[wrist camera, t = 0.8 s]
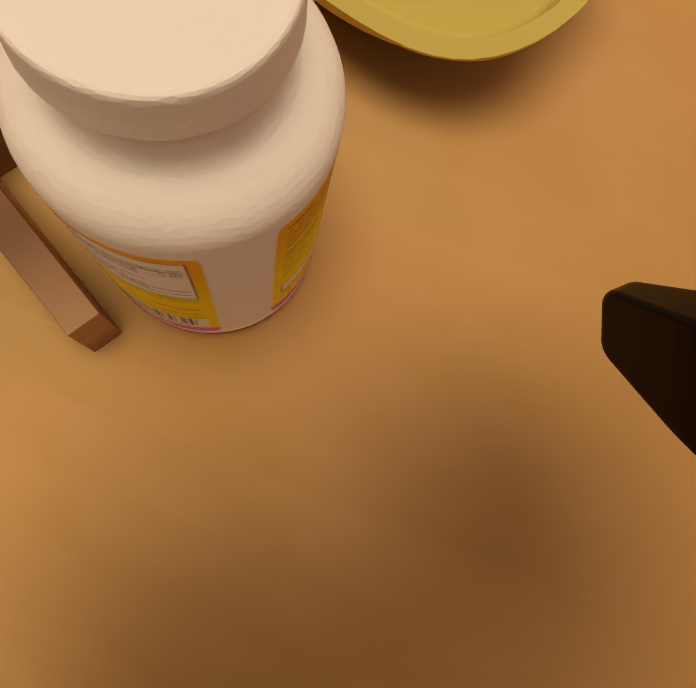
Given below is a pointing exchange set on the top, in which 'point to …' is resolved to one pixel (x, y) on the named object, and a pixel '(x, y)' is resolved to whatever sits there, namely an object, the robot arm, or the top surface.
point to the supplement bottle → (179, 142)
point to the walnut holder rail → (49, 271)
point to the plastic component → (457, 24)
